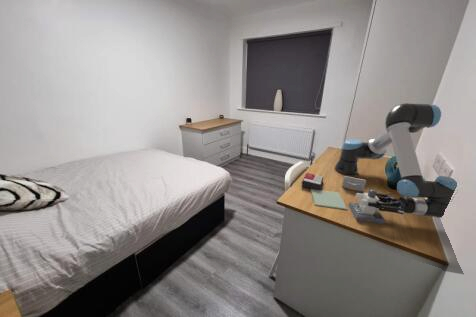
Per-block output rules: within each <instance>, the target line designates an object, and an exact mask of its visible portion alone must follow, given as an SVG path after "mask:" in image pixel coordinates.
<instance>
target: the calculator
mask: <svg viewBox="0 0 476 317" xmlns="http://www.w3.org/2000/svg"><path fill="white" fill-rule="evenodd" d="M323 180H324V176H323V175H318V174H314V173H308V172H307V173H306V174H305V175H304V177H303V179H302V181H301V186H302V187H303V188H304V187H305V188H308V189H314V190H322V189H321V187H322V184H323Z"/></svg>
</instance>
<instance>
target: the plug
mask: <svg viewBox="0 0 476 317" xmlns="http://www.w3.org/2000/svg"><path fill="white" fill-rule="evenodd" d="M377 191H378V190H376V189H373V188H369V190H368V192H363V193H362V194H363V196H362V200H370V201H376V203H377V201H378V202H379V203H380V201H379V199H378V197H377V196H376V194H377V193H378V192H377ZM359 210H360V211H361V213H363V214H370V215H374V213H375V210H376V208H375V207H371V206H364V205H360V206H359Z"/></svg>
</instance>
